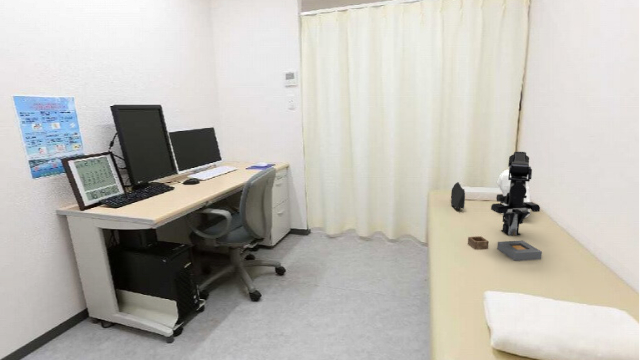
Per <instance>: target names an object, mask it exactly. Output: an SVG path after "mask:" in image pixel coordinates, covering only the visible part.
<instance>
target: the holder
mask: <svg viewBox="0 0 640 360" xmlns="http://www.w3.org/2000/svg"><path fill="white" fill-rule="evenodd" d="M467 245H468V246H469V247H471V248H472V249H474V250H488V249H489V240H487V239H486V238H485V237H483V236H482V235H481V236H478V235H475V236H468V237H467Z"/></svg>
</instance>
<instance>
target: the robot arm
mask: <svg viewBox="0 0 640 360" xmlns="http://www.w3.org/2000/svg"><path fill="white" fill-rule="evenodd" d="M508 157H509V159H508V166H507V167H509V169H508V170H509V177H508V180H511V181H510V191H509V193H507V196H503V194H502V193H501V194H496V199H495V200H496V202H500V203H492V204H491V205H490V210H491V211H493V212H494V213H497V214H502V229H501V230H500V232H502V233H504V234H506V235H507V236H509V235H508V232H509V227H511V225H512V221H513V217H514V213H512V212H516V213H518V214H519V215H518V223H517V232H516V236H521V233H519V230H520V225H522V224H523V223H524V219H526V218H527V217H526V216H527V215H528V214H530V215H531V211H532V212H533V213H539V212H541V211H540V210H541V206H540V204H538V203H536V202H532V201H531V202H524V198H526V197H527V196H526V195H525V194H526V181H528V182H529V183H530V181H531V180H532V176H533V169H532V167H531V166H530V157H529V155H527V152H525V151H514V152H513V154H511V155H509V156H508ZM510 174H511V178H510ZM527 177H528V179H527ZM503 203H505V204H507V206H505V205H503ZM528 209H530V212H528ZM525 217H526V218H525Z"/></svg>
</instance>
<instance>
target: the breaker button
mask: <svg viewBox="0 0 640 360" xmlns="http://www.w3.org/2000/svg"><path fill="white" fill-rule="evenodd" d="M512 247H514V248H515V249H517V250H521V249H525V248H524V247H522V246H520V245H519V246H512Z"/></svg>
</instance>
